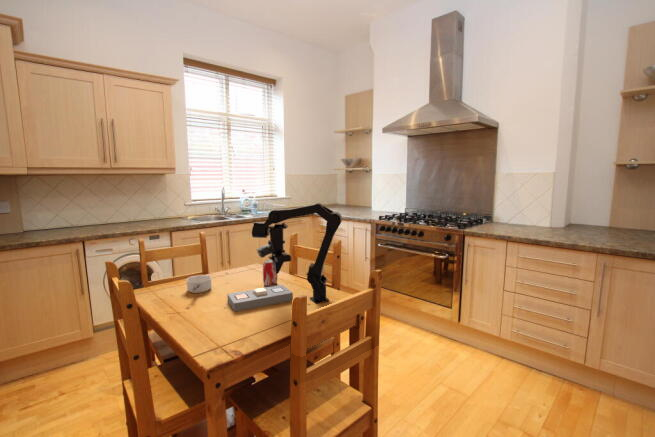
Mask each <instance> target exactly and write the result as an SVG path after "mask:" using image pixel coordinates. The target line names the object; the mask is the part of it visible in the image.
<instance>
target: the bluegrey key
mask: <svg viewBox="0 0 655 437" xmlns="http://www.w3.org/2000/svg"><path fill="white" fill-rule="evenodd" d="M271 290H272V291H273V292H274V293H277V292H283V291H284V290H283V289H282V288H276V289H271Z"/></svg>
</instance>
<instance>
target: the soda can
mask: <svg viewBox="0 0 655 437" xmlns="http://www.w3.org/2000/svg"><path fill="white" fill-rule="evenodd" d="M262 281H263V284H264V286H267V287H271V286H276V284H277V283H278V274H276V272H275V269H274V265H273V262H272V260H271V259H269V258H268V259H265V260H264V261H263V264H262Z"/></svg>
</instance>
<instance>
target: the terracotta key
mask: <svg viewBox="0 0 655 437" xmlns="http://www.w3.org/2000/svg"><path fill="white" fill-rule="evenodd" d="M235 298H236V299H237V300H238V299H244V298H248V296H247V295H246V294H241V295H235Z"/></svg>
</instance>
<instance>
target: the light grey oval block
mask: <svg viewBox="0 0 655 437" xmlns="http://www.w3.org/2000/svg"><path fill="white" fill-rule="evenodd" d="M185 281H186V289H187V292H190V293H193V294H199V293H204V292H205V293H206V292H208V291H209V290H211V288H212V276H211V275H208V274H200V275H192V276H189V277H187V278H185Z"/></svg>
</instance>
